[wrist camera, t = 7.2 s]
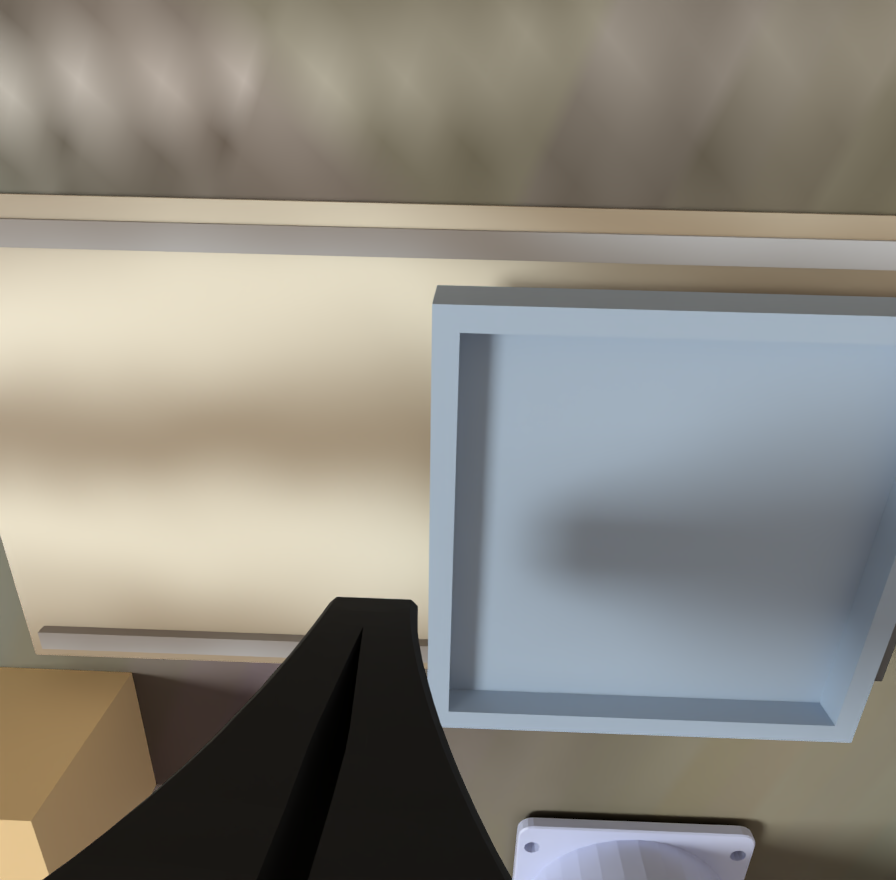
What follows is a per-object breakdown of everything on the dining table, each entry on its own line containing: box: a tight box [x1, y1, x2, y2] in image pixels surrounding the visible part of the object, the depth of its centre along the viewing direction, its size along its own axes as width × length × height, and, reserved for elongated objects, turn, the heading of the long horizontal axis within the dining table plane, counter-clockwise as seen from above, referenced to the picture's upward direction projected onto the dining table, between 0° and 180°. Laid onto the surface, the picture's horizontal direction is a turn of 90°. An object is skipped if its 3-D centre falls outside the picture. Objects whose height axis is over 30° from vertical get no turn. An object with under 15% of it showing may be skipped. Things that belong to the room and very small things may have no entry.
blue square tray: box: [428, 285, 896, 743], centre depth 14 cm, size 10×10×3 cm
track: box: [0, 193, 896, 681], centre depth 15 cm, size 13×25×2 cm, turn 89°
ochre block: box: [0, 667, 156, 880], centre depth 18 cm, size 5×5×5 cm
